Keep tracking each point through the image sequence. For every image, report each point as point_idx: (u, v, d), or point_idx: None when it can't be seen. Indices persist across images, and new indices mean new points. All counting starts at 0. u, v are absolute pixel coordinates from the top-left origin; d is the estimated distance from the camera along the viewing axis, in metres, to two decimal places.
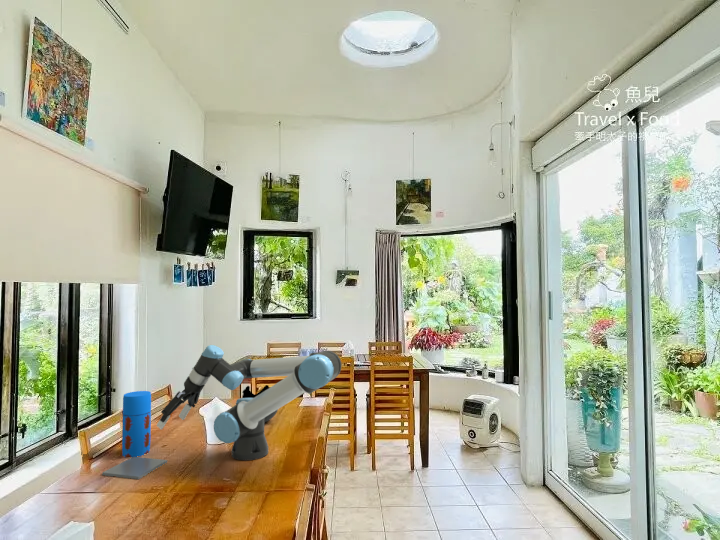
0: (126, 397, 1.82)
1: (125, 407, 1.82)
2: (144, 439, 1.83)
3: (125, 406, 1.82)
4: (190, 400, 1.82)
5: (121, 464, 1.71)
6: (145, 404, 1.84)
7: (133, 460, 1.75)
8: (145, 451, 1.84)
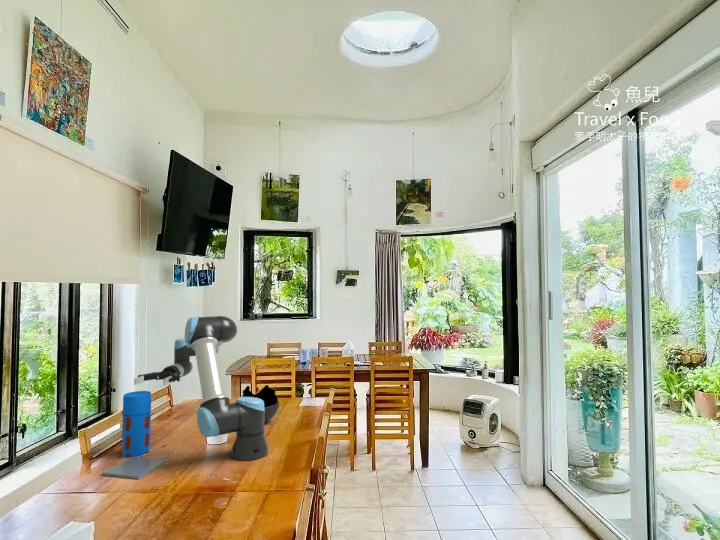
0: (126, 397, 1.82)
1: (125, 407, 1.82)
2: (144, 439, 1.83)
3: (125, 406, 1.82)
4: (170, 376, 2.06)
5: (121, 464, 1.71)
6: (145, 404, 1.84)
7: (133, 460, 1.75)
8: (145, 451, 1.84)
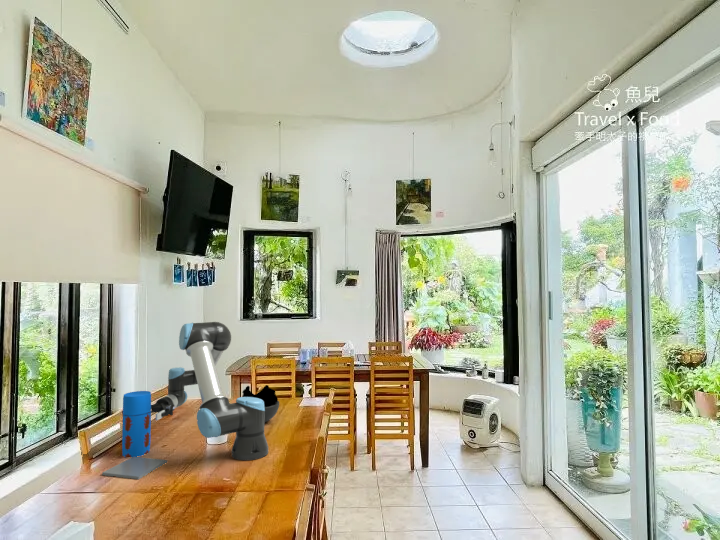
0: (126, 397, 1.82)
1: (125, 407, 1.82)
2: (144, 439, 1.83)
3: (125, 406, 1.82)
4: (163, 409, 2.00)
5: (121, 464, 1.71)
6: (145, 404, 1.84)
7: (133, 460, 1.75)
8: (145, 451, 1.84)
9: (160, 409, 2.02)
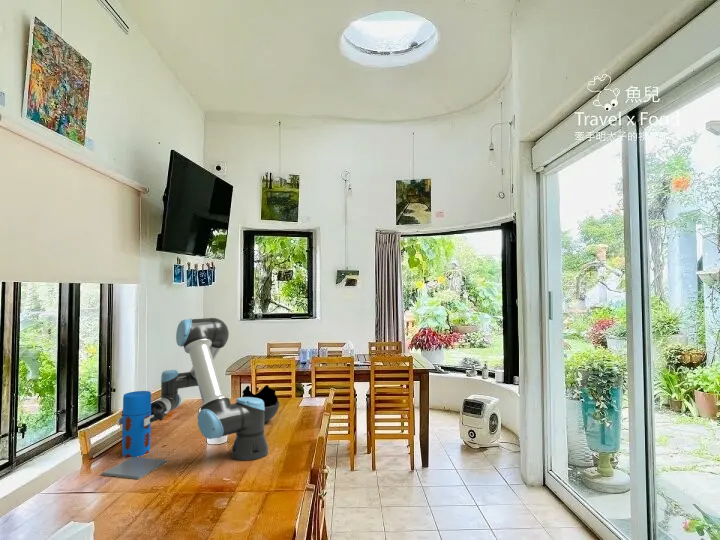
0: (126, 397, 1.82)
1: (125, 407, 1.82)
2: (144, 439, 1.83)
3: (125, 406, 1.82)
4: (153, 414, 1.92)
5: (121, 464, 1.71)
6: (145, 404, 1.84)
7: (133, 460, 1.75)
8: (146, 451, 1.84)
9: (152, 413, 1.95)
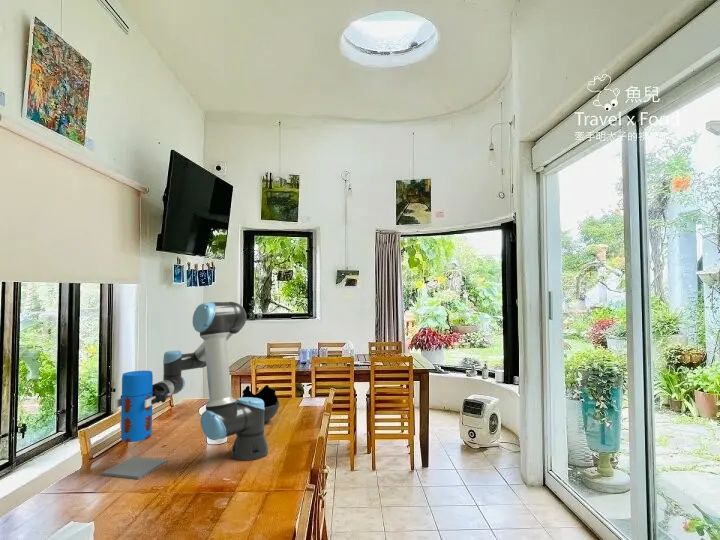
0: (125, 376, 1.66)
1: (124, 387, 1.66)
2: (145, 422, 1.68)
3: (124, 386, 1.66)
4: (155, 396, 1.77)
5: (121, 464, 1.71)
6: (146, 384, 1.68)
7: (133, 460, 1.75)
8: (147, 436, 1.68)
9: (154, 395, 1.79)
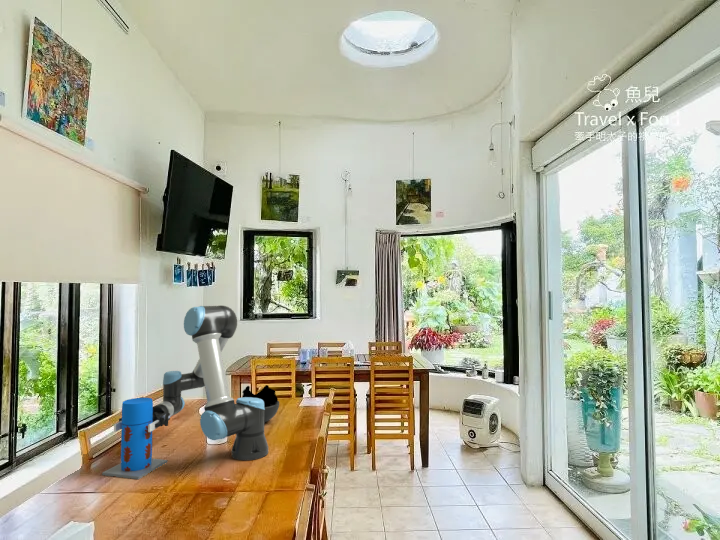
0: (125, 404, 1.66)
1: (124, 415, 1.65)
2: (145, 451, 1.67)
3: (124, 414, 1.66)
4: (157, 419, 1.76)
5: None
6: (146, 412, 1.68)
7: None
8: (147, 464, 1.68)
9: (154, 418, 1.79)
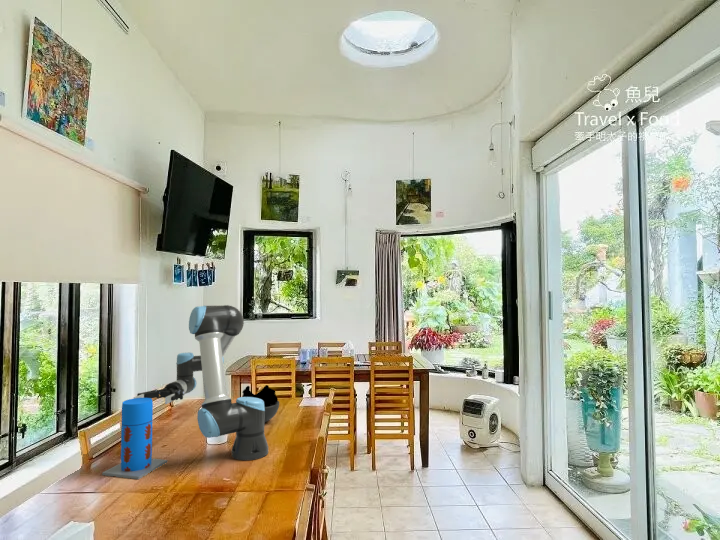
0: (125, 405, 1.65)
1: (124, 416, 1.65)
2: (145, 451, 1.67)
3: (124, 415, 1.65)
4: (172, 394, 1.90)
5: None
6: (146, 412, 1.68)
7: None
8: (147, 464, 1.68)
9: (169, 394, 1.92)
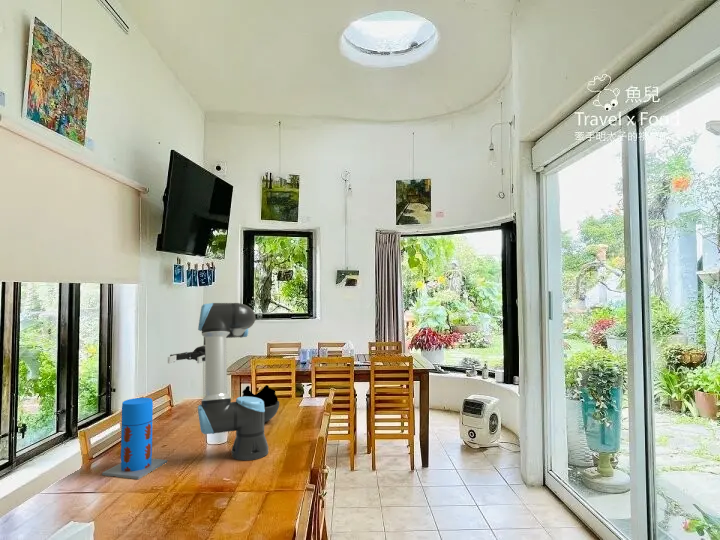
0: (125, 405, 1.65)
1: (124, 416, 1.65)
2: (145, 451, 1.67)
3: (124, 415, 1.65)
4: (202, 356, 2.04)
5: None
6: (146, 412, 1.68)
7: None
8: (147, 464, 1.67)
9: (199, 356, 2.06)
